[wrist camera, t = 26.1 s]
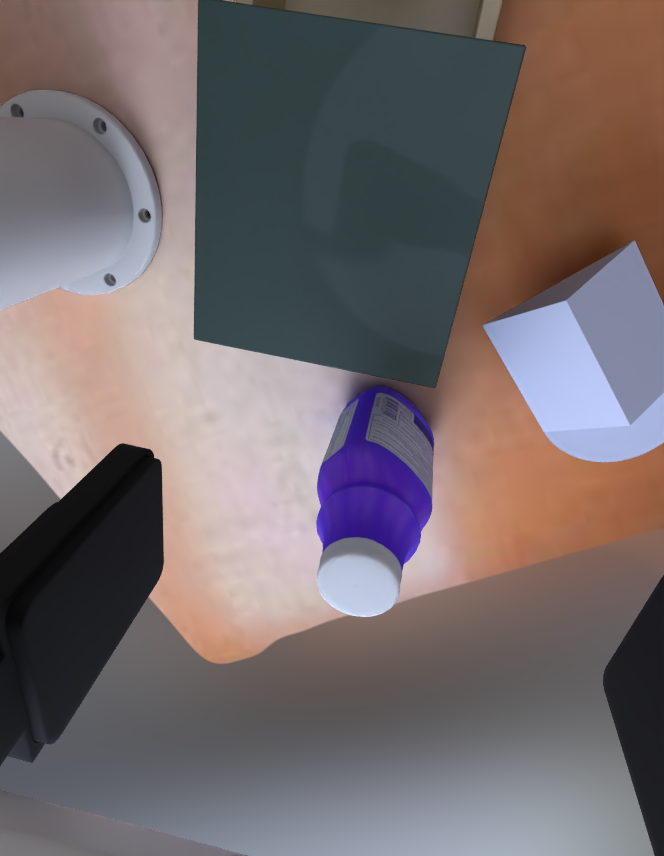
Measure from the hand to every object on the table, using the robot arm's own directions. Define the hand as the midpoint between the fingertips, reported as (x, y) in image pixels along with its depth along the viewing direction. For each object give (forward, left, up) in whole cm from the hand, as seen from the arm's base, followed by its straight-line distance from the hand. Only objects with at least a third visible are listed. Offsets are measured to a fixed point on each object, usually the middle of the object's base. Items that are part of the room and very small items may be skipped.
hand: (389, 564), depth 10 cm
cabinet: (-5, +3, -28) cm, 29 cm away
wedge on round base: (+12, -4, -28) cm, 31 cm away
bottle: (0, -12, -28) cm, 31 cm away
